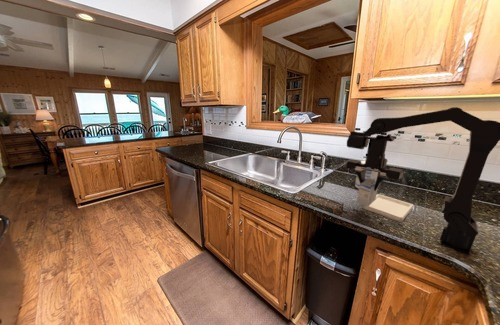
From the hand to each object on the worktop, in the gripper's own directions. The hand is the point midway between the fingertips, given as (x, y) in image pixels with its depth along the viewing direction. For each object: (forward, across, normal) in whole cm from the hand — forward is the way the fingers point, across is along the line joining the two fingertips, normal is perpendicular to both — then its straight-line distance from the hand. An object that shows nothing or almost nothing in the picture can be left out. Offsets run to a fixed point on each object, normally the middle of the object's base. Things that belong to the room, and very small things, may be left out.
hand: (368, 188), depth 78 cm
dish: (+11, -5, -13) cm, 18 cm away
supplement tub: (+11, +11, -30) cm, 34 cm away
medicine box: (+6, 0, 0) cm, 6 cm away
